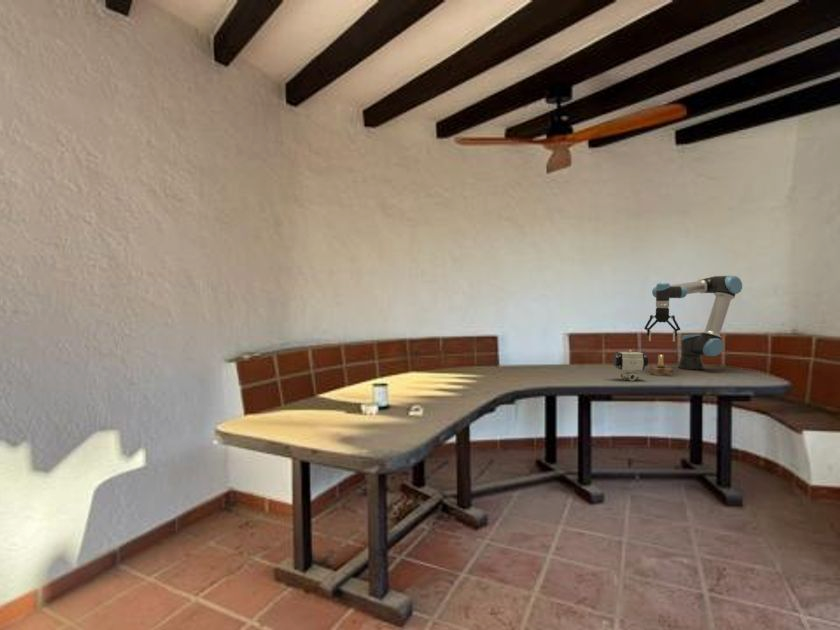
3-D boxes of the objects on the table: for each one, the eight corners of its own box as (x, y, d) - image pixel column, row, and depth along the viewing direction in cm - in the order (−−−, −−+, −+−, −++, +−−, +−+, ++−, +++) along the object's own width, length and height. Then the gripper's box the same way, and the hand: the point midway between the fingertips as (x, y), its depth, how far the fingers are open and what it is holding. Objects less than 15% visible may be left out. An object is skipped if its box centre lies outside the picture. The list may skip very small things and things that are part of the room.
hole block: (669, 372, 309) (670, 366, 309) (673, 376, 294) (673, 369, 294) (649, 371, 313) (649, 365, 313) (651, 375, 298) (651, 368, 298)
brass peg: (663, 373, 305) (663, 354, 304) (663, 374, 302) (664, 355, 301) (657, 373, 306) (658, 354, 305) (658, 373, 303) (658, 355, 302)
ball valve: (616, 381, 278) (617, 350, 277) (612, 378, 287) (612, 349, 286) (648, 381, 277) (649, 351, 276) (643, 378, 285) (643, 349, 285)
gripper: (641, 307, 303) (640, 341, 304) (685, 308, 294) (684, 342, 295) (640, 307, 310) (639, 339, 311) (683, 307, 301) (683, 341, 302)
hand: (661, 341), depth 303 cm, fingers open, 13 cm apart
